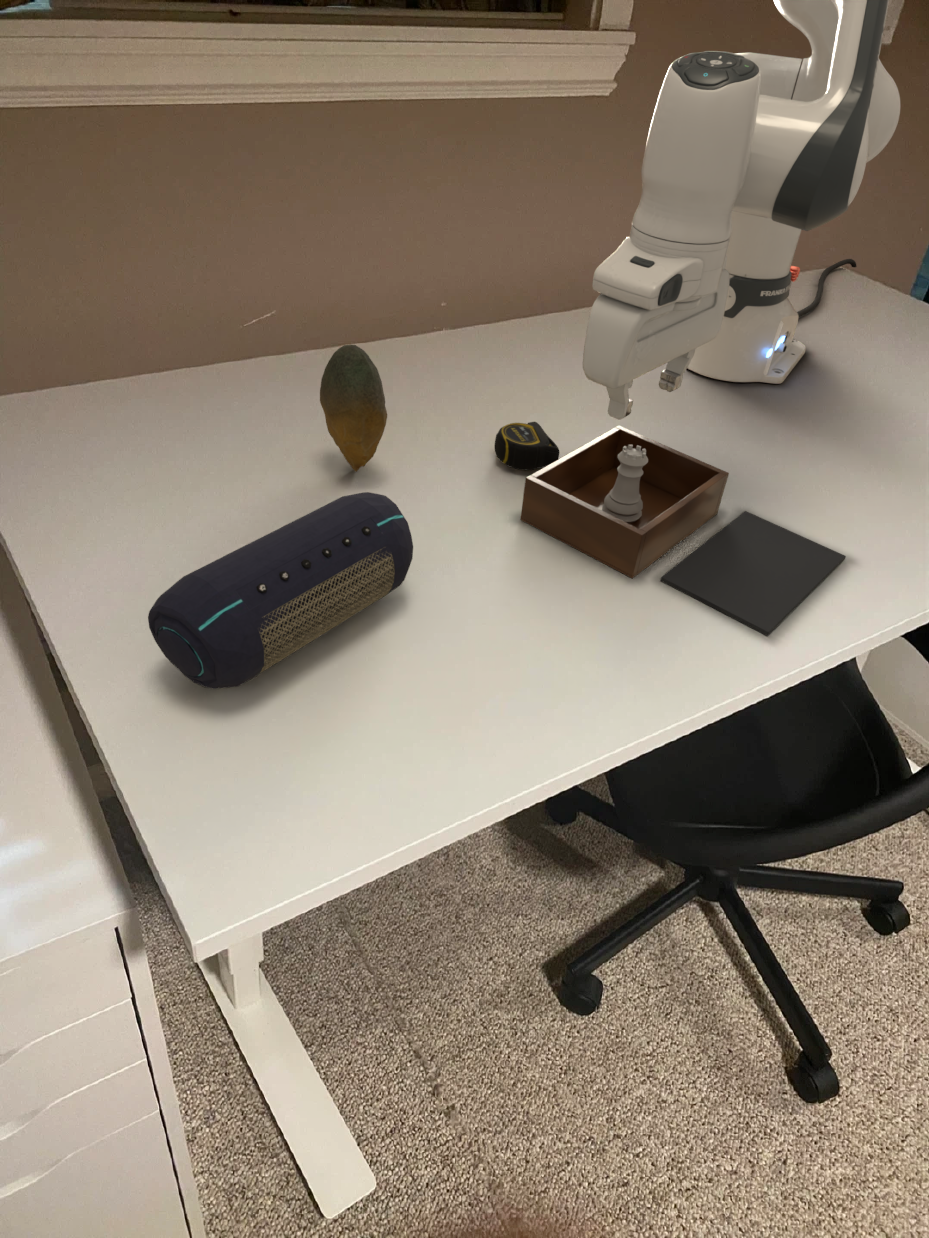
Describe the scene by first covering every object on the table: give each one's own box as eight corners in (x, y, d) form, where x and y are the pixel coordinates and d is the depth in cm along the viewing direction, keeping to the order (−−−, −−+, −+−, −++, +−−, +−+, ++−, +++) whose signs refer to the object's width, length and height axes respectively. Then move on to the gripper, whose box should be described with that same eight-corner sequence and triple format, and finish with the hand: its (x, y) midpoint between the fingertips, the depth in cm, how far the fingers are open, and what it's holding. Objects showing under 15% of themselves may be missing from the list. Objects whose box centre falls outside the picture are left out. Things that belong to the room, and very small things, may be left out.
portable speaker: (219, 729, 73) (205, 634, 66) (145, 669, 77) (125, 575, 71) (430, 593, 88) (435, 505, 82) (357, 550, 93) (356, 464, 87)
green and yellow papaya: (399, 482, 104) (402, 356, 94) (353, 497, 101) (351, 368, 91) (353, 445, 109) (352, 324, 100) (309, 458, 106) (303, 334, 97)
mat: (744, 514, 103) (745, 510, 103) (844, 559, 98) (846, 555, 97) (660, 580, 92) (661, 576, 92) (767, 636, 87) (769, 632, 86)
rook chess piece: (593, 513, 101) (605, 449, 96) (616, 499, 103) (629, 435, 98) (626, 530, 98) (640, 465, 93) (649, 515, 101) (664, 451, 96)
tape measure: (559, 473, 108) (563, 444, 105) (504, 479, 106) (507, 450, 103) (537, 445, 112) (541, 417, 110) (485, 450, 111) (488, 422, 108)
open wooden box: (610, 464, 110) (618, 424, 107) (717, 513, 103) (729, 472, 100) (520, 519, 99) (525, 477, 96) (632, 578, 92) (642, 535, 89)
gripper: (700, 233, 91) (671, 364, 100) (582, 275, 79) (560, 421, 87) (757, 250, 88) (722, 383, 97) (643, 296, 76) (614, 445, 84)
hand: (644, 401), depth 92 cm, fingers open, 8 cm apart
